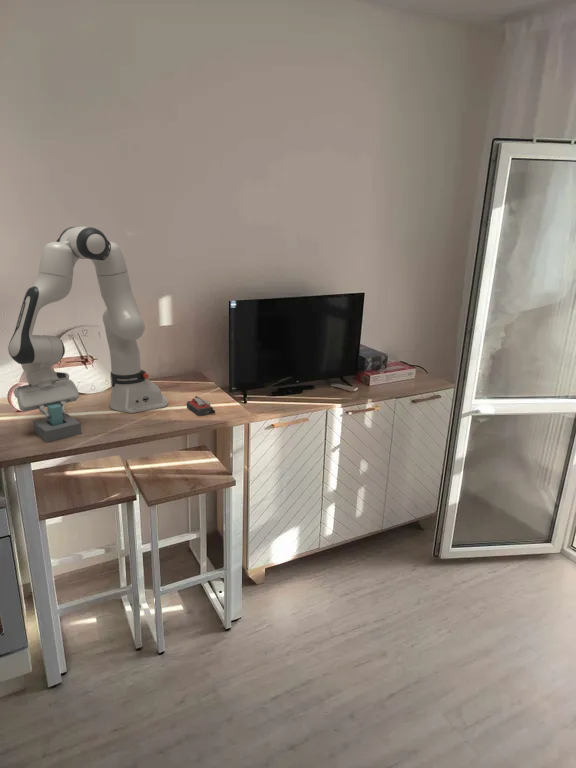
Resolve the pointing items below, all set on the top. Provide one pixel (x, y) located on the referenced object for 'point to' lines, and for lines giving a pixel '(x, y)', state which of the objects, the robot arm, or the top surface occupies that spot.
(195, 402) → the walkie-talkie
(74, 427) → the socket
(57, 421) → the plug
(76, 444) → the top surface
